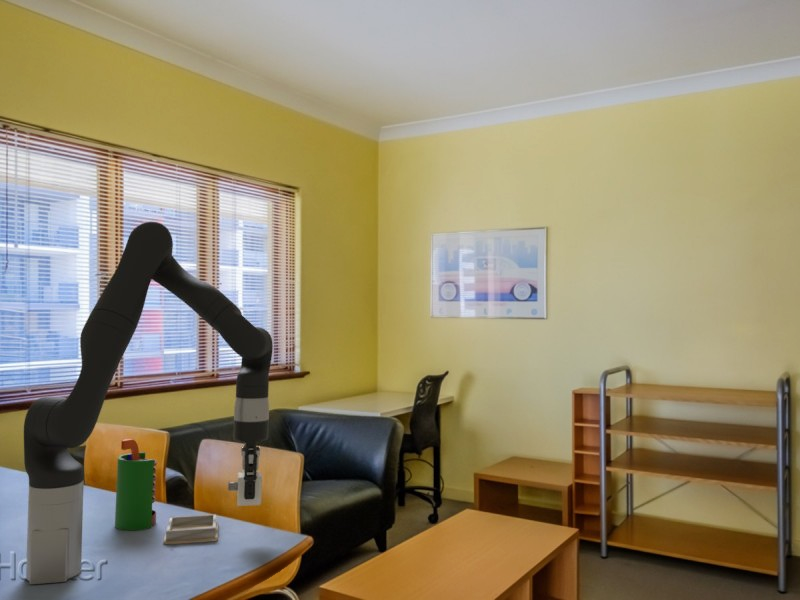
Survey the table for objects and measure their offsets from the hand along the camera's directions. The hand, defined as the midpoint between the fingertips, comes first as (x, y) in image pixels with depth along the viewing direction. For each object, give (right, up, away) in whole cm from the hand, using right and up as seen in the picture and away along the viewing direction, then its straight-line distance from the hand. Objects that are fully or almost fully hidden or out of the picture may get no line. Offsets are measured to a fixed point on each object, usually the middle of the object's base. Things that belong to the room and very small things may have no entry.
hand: (249, 495), depth 144 cm
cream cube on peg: (0, -1, 0) cm, 1 cm away
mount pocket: (-14, -10, +3) cm, 17 cm away
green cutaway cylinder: (-29, -10, +10) cm, 32 cm away
